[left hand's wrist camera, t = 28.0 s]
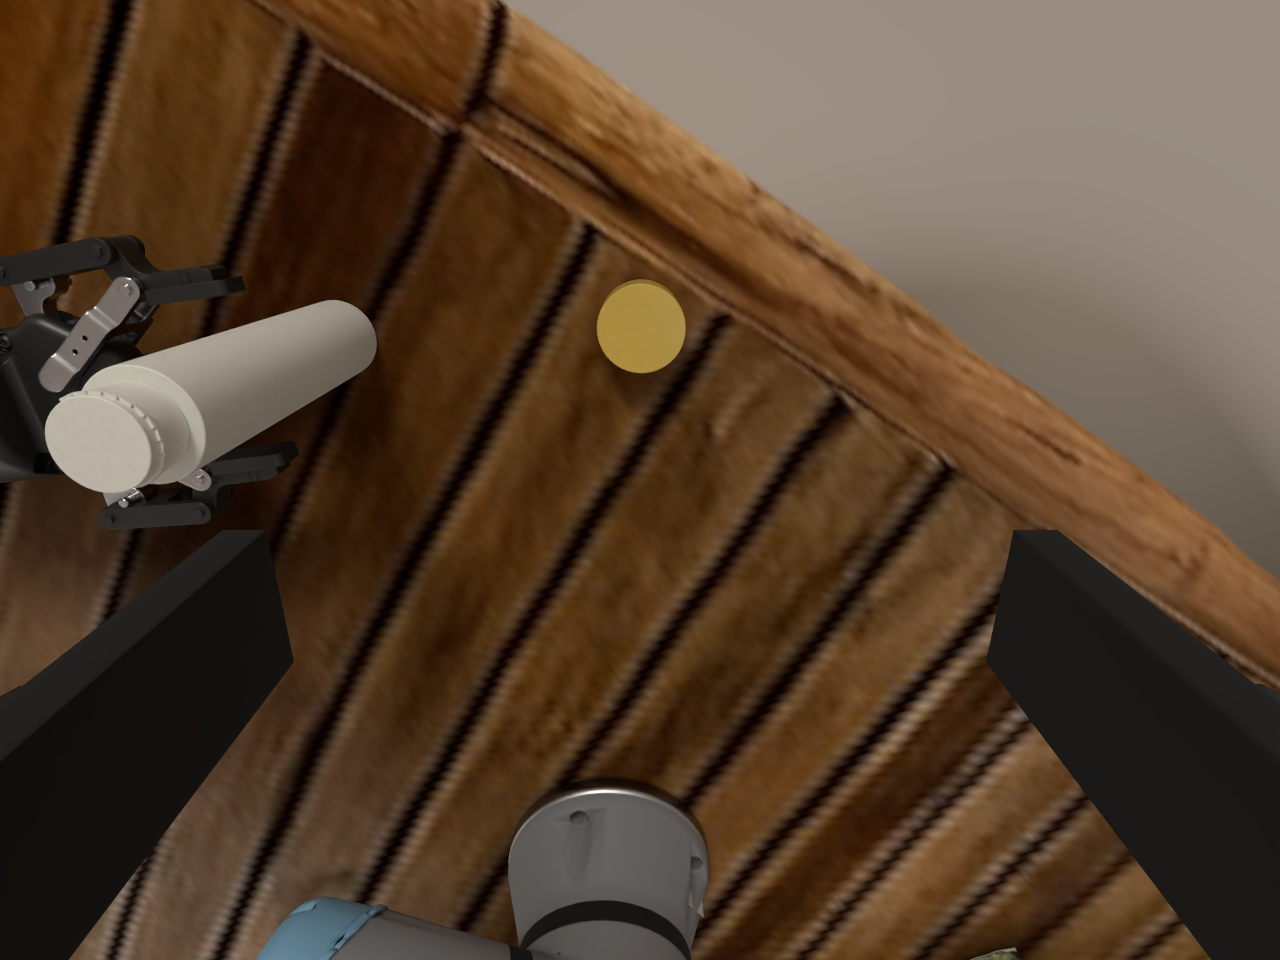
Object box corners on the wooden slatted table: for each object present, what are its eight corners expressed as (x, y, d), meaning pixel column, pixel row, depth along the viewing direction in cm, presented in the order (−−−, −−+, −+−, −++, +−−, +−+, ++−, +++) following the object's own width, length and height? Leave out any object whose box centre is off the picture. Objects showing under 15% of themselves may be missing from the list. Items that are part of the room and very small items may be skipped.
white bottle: (391, 357, 42) (195, 478, 23) (327, 387, 42) (88, 527, 24) (350, 287, 40) (108, 356, 22) (285, 318, 41) (-4, 412, 22)
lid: (590, 289, 40) (587, 294, 38) (673, 270, 40) (676, 274, 38) (610, 372, 42) (608, 381, 40) (690, 354, 42) (693, 363, 39)
